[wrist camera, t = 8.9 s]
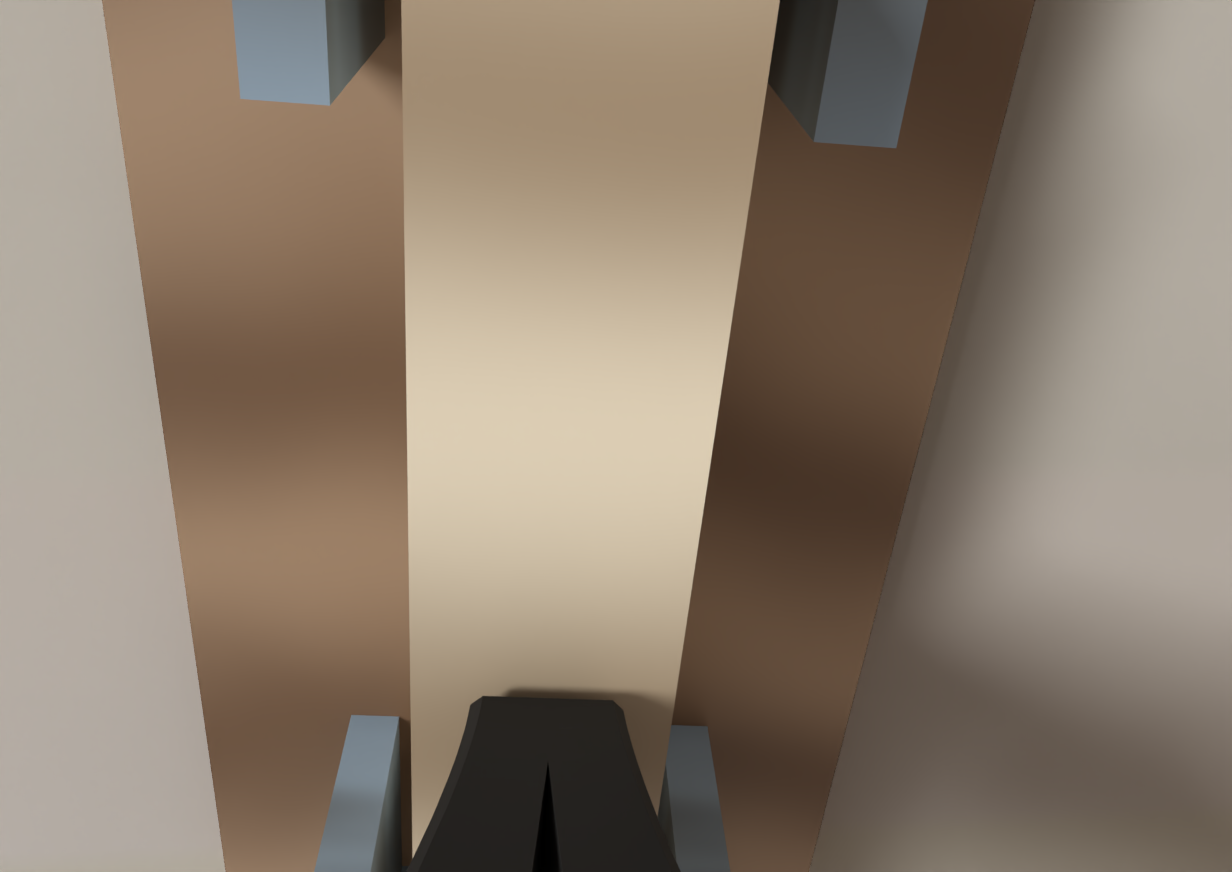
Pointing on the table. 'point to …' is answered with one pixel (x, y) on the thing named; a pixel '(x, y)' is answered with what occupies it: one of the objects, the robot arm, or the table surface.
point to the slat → (566, 344)
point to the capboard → (377, 407)
